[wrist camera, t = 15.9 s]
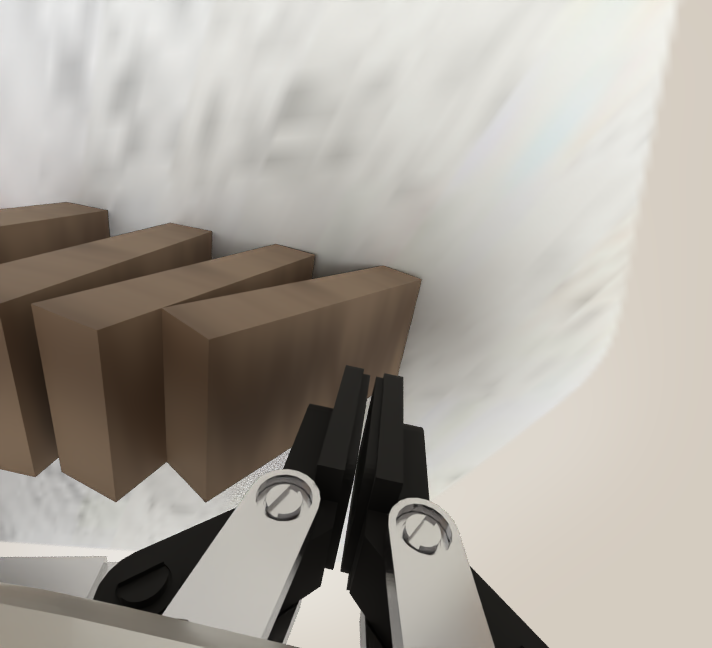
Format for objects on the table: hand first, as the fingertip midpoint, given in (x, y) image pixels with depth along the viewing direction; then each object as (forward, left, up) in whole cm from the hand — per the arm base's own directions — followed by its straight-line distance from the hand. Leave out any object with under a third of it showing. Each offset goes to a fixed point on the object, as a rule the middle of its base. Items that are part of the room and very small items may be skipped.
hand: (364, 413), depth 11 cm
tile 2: (0, +4, -7) cm, 9 cm away
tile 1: (0, -1, -7) cm, 7 cm away
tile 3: (0, +9, -8) cm, 12 cm away
